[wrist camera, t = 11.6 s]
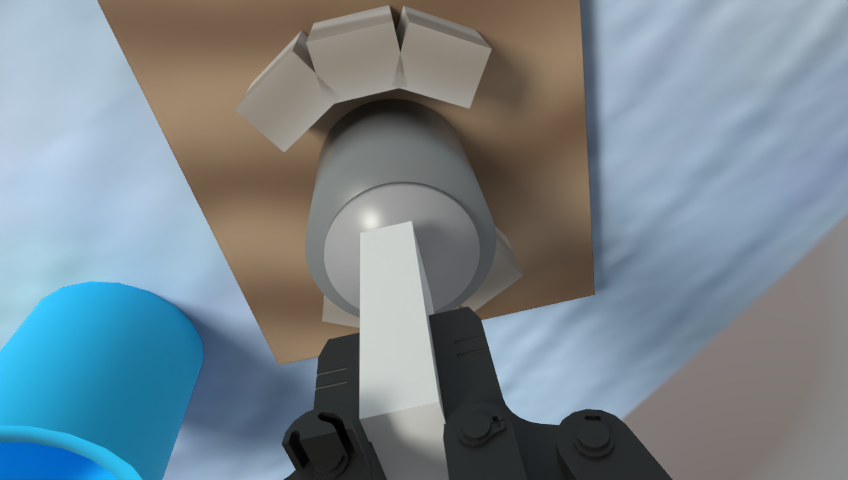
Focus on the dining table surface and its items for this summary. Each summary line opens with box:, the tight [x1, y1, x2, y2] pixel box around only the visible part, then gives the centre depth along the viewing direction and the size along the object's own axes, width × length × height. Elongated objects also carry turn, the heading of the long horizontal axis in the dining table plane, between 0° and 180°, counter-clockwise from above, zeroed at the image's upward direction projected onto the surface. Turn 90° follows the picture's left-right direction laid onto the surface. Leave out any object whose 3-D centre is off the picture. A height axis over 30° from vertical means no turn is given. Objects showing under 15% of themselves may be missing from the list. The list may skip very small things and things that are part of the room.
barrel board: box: [97, 0, 595, 365], centre depth 21 cm, size 18×16×4 cm
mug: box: [0, 282, 204, 480], centre depth 25 cm, size 12×8×8 cm
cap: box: [305, 99, 496, 318], centre depth 20 cm, size 6×6×6 cm
